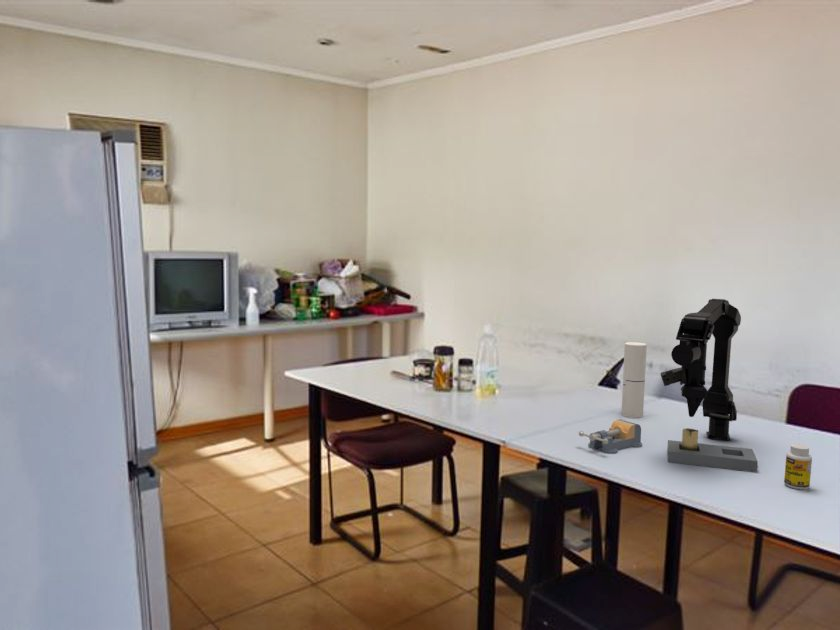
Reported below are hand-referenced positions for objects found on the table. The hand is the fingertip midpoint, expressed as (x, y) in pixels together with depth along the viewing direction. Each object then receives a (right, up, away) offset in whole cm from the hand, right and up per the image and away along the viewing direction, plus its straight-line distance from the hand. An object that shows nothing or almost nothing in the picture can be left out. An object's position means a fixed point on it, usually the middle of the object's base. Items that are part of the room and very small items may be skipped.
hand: (691, 416), depth 186 cm
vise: (-19, -11, +11) cm, 24 cm away
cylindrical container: (-2, -7, +46) cm, 47 cm away
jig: (+5, -12, 0) cm, 13 cm away
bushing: (0, -12, +1) cm, 12 cm away
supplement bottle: (+19, -15, -19) cm, 30 cm away
